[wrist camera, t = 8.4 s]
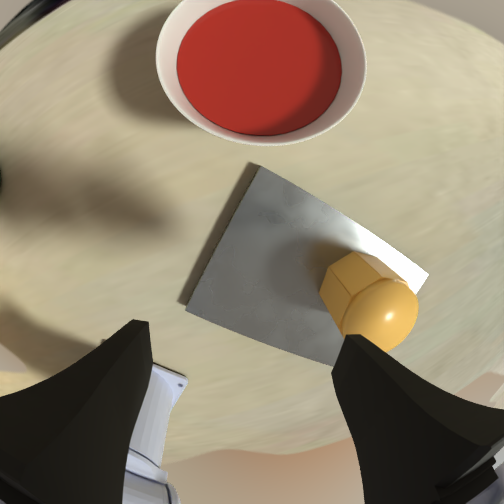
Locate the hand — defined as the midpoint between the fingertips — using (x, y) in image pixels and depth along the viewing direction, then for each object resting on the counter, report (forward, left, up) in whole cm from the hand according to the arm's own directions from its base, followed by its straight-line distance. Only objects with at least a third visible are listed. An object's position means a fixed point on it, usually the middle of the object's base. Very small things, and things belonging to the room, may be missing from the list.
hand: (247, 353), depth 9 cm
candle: (+11, +5, -10) cm, 15 cm away
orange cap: (+2, -8, -9) cm, 12 cm away
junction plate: (0, -6, -10) cm, 11 cm away
